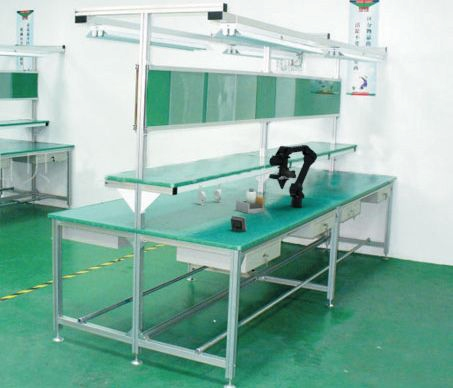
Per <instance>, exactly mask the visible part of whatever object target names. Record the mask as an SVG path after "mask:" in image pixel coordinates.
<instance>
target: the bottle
mask: <svg viewBox="0 0 453 388" xmlns="http://www.w3.org/2000/svg"><path fill="white" fill-rule="evenodd" d="M254 189H255V188H253V187H250V188H249V189H248V190H246V194H245V197H246V198H245V201H246V203H249V204H255V201H256V196H257V192H256V191H255V190H254Z"/></svg>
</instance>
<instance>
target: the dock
mask: <svg viewBox="0 0 453 388" xmlns="http://www.w3.org/2000/svg"><path fill="white" fill-rule="evenodd" d="M235 201H236V202H235V211H239V212H241V213H245V214H249V215H250V214H260V213H265V211H264V210H263V211H262V209H263V208H255V209H249V208H250V204H249V203H245V202H242V201H243V200H237V199H236V200H235Z"/></svg>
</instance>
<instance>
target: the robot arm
mask: <svg viewBox="0 0 453 388" xmlns="http://www.w3.org/2000/svg"><path fill="white" fill-rule="evenodd" d="M293 153H301V154H302V156H303V158H302V159H303V160H302V161H303V164H302V166H301V168H300V171H299V173H298V175H296V171H295V169H293V170H290V167H289V159H291V158H292V157H291V156H290V155H292V154H293ZM317 159H318V154H317V153H316V152H315V151H314V150H313V149H312V148H311V147H310V146H309V145H307V144H301V145H293V146H288V145H287V146H286V145H280V146H279V148H278V149H277V150H276V152H275V154H274V155H273V154H272V155H271V157H270V159H269V161H268V163H269V165H270V166H271V167H277V169H278V172H277V174H276V173H270V174H269V175H268V178H269V179H270V180H276V181H277V183H278V185H279V187H280V189H281V190H284V188H285V184H286V183H287V181H289V180H290V179H295V181H294V182H291V183H290V186H289V188H288V192H289V197H291V199H290V207H293V208H303V207H304V206H303V199H305V197H306V196H305V194H304V192H303V190H304V187H303V184H304V183H305V179H306V178H307V175H308V172H309V170H310V169H311V166H312V165H313V164H314V163H315V162H316V160H317Z"/></svg>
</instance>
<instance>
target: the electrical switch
mask: <svg viewBox="0 0 453 388" xmlns="http://www.w3.org/2000/svg"><path fill="white" fill-rule="evenodd" d="M230 224H231V230H232V231H237V232H241V231H243V232H246V231H247V221H246V217H245V216H241V215H240V216H239V215H234V214H233V215H232V216H231V218H230Z"/></svg>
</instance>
